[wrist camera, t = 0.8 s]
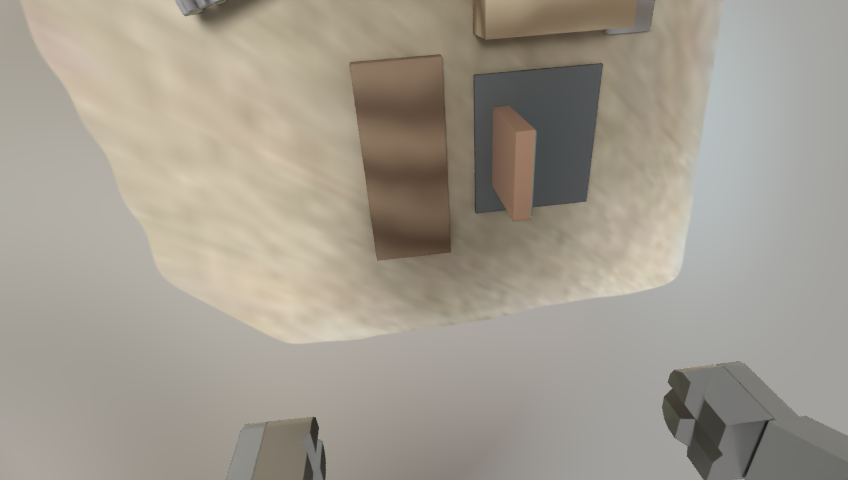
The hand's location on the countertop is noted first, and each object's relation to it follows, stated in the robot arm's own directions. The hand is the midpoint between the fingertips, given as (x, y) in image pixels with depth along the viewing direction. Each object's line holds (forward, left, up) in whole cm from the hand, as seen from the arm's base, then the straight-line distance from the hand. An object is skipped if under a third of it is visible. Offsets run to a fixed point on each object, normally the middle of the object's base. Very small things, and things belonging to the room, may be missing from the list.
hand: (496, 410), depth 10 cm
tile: (+7, +9, -36) cm, 38 cm away
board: (+8, 0, -36) cm, 37 cm away
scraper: (-5, +15, -36) cm, 40 cm away
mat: (+7, +13, -36) cm, 39 cm away
